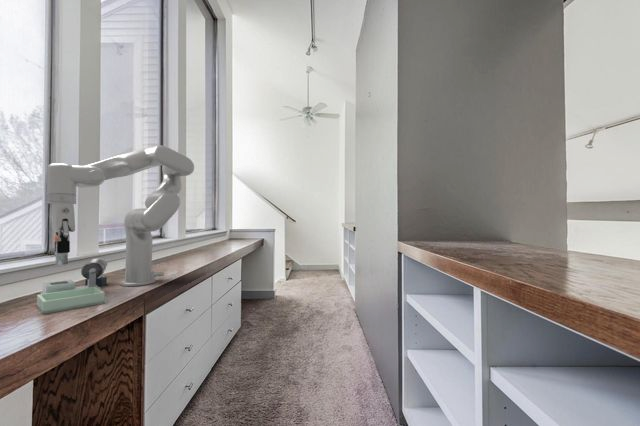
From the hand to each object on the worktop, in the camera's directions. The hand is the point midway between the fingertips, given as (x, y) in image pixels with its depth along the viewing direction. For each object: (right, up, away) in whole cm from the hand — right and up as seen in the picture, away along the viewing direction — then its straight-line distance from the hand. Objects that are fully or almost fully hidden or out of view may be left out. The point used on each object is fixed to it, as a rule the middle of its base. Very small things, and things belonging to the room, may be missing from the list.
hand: (62, 251), depth 100 cm
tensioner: (+2, -16, +2) cm, 16 cm away
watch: (-1, -16, +17) cm, 23 cm away
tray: (+11, -16, -9) cm, 21 cm away
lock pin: (0, -4, 0) cm, 4 cm away
